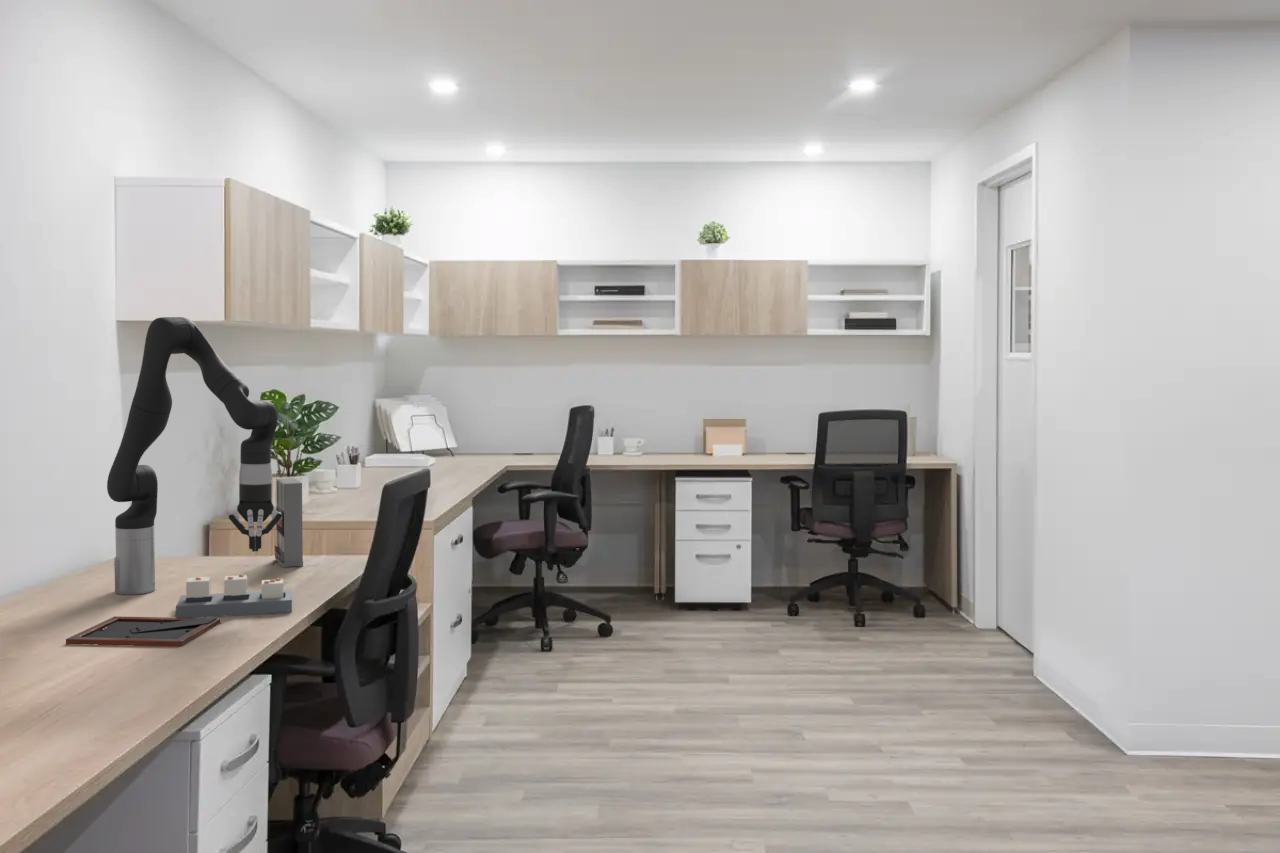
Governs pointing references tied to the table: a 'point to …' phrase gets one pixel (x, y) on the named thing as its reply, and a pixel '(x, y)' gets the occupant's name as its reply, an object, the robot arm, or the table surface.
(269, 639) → the table surface
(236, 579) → the tile two
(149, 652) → the table surface
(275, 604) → the board
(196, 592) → the tile one
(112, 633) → the picture frame
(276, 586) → the tile three
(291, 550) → the tall grey labeled box
